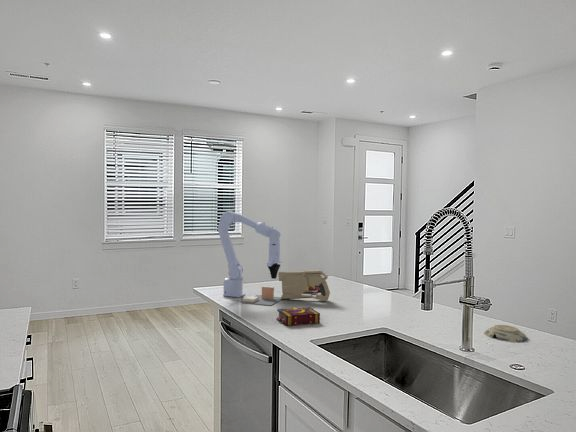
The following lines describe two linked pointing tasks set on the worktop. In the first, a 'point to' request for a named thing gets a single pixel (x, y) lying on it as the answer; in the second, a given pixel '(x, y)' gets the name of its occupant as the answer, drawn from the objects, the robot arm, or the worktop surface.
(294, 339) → the worktop surface
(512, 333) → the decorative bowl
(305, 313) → the decorative book
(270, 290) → the tile
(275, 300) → the mat
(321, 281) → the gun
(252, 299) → the flat tile
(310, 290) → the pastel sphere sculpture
